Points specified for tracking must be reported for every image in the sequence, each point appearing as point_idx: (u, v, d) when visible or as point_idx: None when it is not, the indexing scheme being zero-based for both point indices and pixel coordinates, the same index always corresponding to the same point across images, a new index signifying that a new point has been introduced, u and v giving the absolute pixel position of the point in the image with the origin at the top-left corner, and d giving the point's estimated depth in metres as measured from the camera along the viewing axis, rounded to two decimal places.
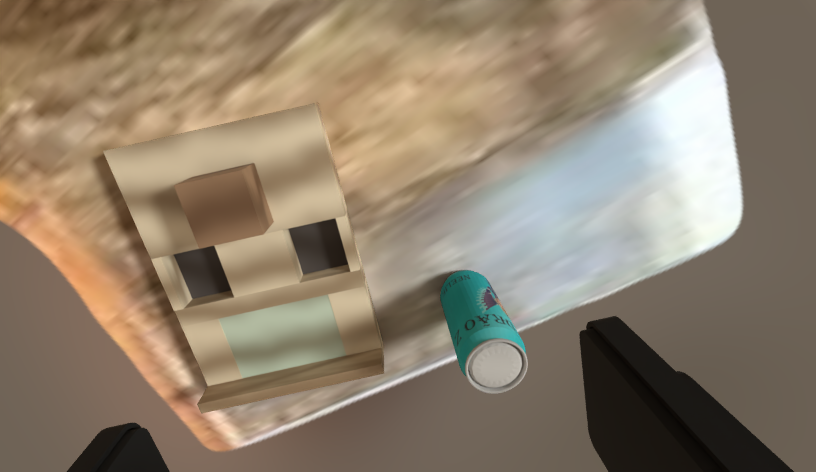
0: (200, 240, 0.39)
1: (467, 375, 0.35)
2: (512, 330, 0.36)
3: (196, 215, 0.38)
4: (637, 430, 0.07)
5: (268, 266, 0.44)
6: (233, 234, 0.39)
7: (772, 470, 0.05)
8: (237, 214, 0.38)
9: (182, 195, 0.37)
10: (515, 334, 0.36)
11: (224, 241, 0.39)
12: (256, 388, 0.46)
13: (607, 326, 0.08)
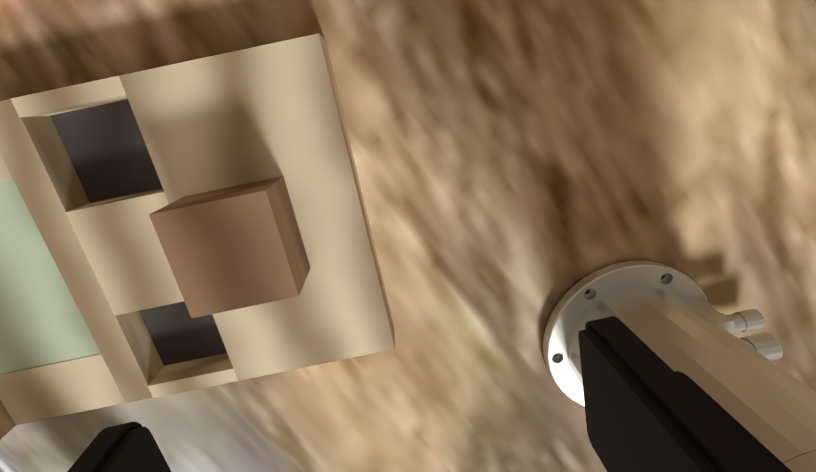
0: (167, 219, 0.22)
1: None
2: None
3: (213, 219, 0.22)
4: (635, 429, 0.07)
5: (136, 271, 0.27)
6: (185, 273, 0.23)
7: (769, 469, 0.05)
8: (222, 283, 0.23)
9: (248, 202, 0.22)
10: None
11: (169, 258, 0.22)
12: None
13: (605, 326, 0.08)
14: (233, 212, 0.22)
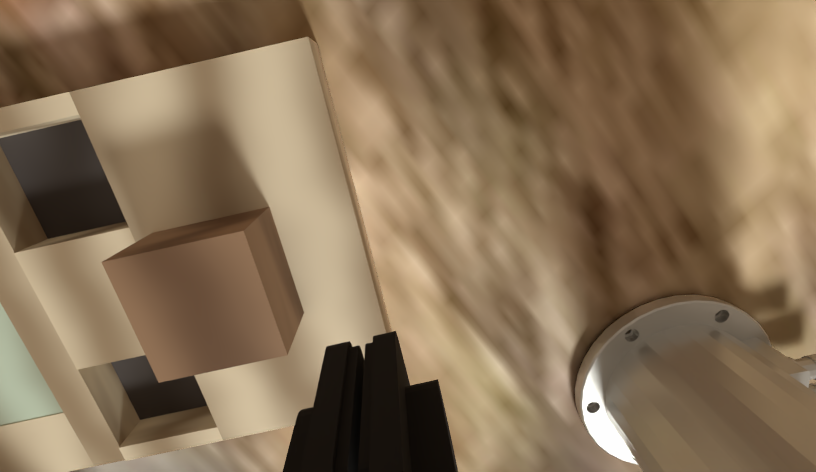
0: (123, 267, 0.18)
1: None
2: None
3: (180, 266, 0.18)
4: None
5: (100, 319, 0.23)
6: (149, 331, 0.19)
7: (396, 462, 0.06)
8: (194, 341, 0.19)
9: (222, 245, 0.17)
10: None
11: (129, 313, 0.18)
12: None
13: (380, 340, 0.09)
14: (204, 257, 0.18)
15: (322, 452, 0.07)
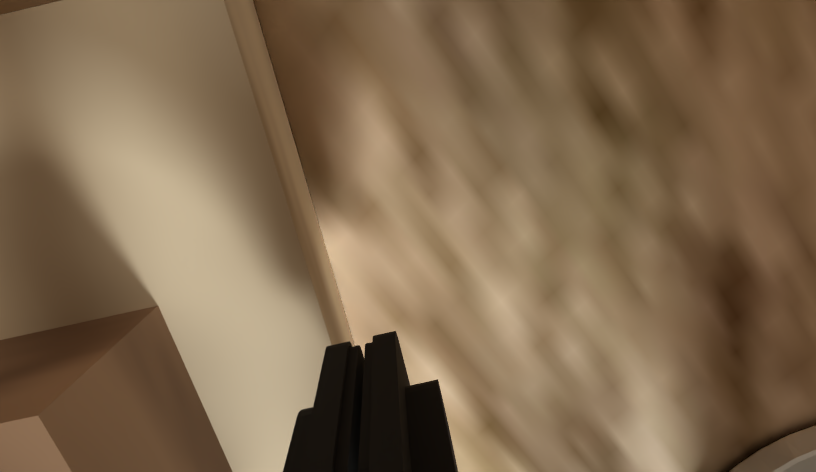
0: None
1: None
2: None
3: None
4: None
5: None
6: None
7: (396, 463, 0.06)
8: None
9: None
10: None
11: None
12: None
13: (380, 340, 0.09)
14: None
15: (322, 452, 0.07)
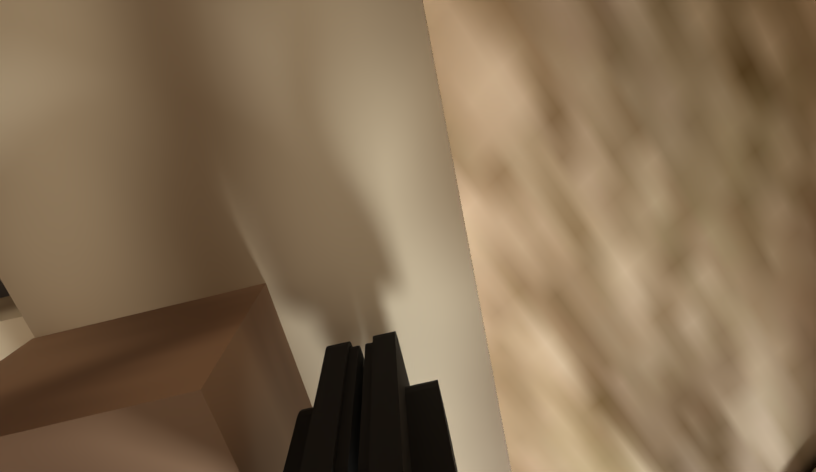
0: None
1: None
2: None
3: None
4: None
5: None
6: None
7: (396, 463, 0.06)
8: None
9: (150, 423, 0.07)
10: None
11: None
12: None
13: (380, 340, 0.09)
14: (106, 453, 0.07)
15: (322, 452, 0.07)
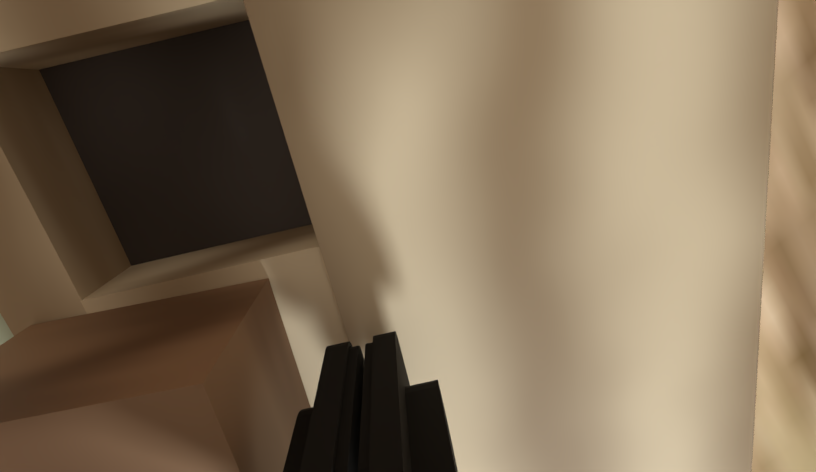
0: None
1: None
2: None
3: (44, 462, 0.07)
4: None
5: None
6: None
7: (396, 463, 0.06)
8: None
9: (149, 416, 0.07)
10: None
11: None
12: None
13: (380, 340, 0.09)
14: (104, 443, 0.07)
15: (322, 452, 0.07)
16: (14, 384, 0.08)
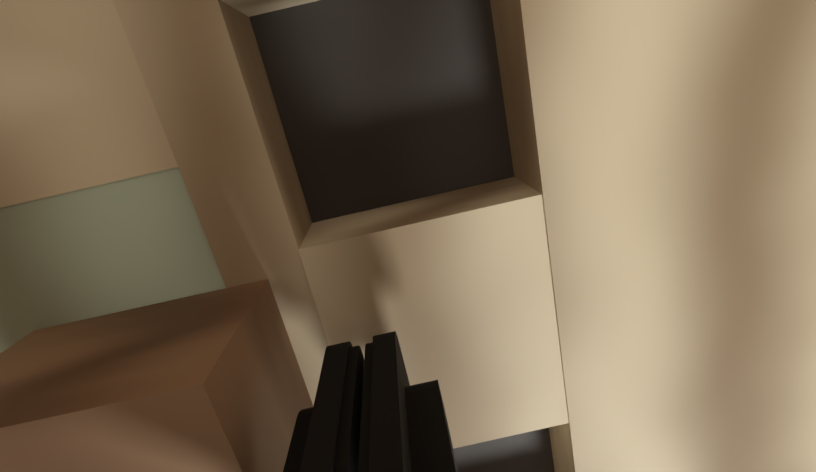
0: None
1: None
2: None
3: (48, 466, 0.07)
4: None
5: (435, 377, 0.12)
6: None
7: (396, 463, 0.06)
8: None
9: (151, 417, 0.07)
10: None
11: None
12: None
13: (380, 340, 0.09)
14: (107, 446, 0.07)
15: (322, 452, 0.07)
16: (17, 389, 0.08)
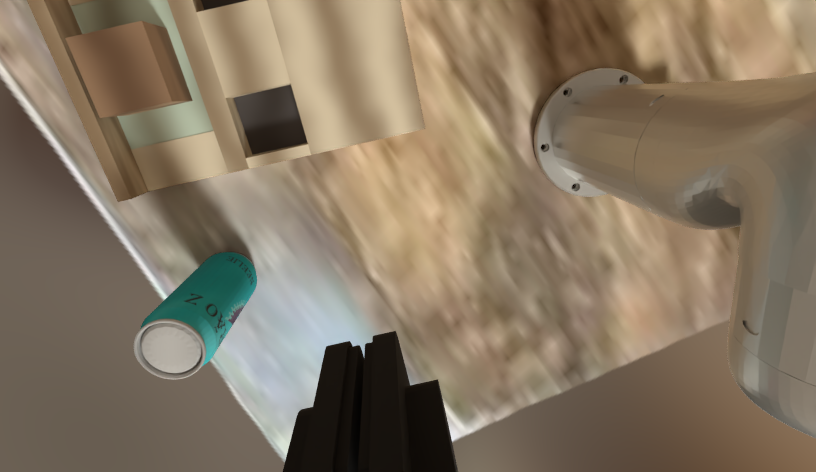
0: (77, 41, 0.33)
1: (154, 322, 0.31)
2: None
3: (108, 41, 0.33)
4: None
5: (242, 61, 0.37)
6: (93, 83, 0.34)
7: (396, 463, 0.06)
8: (118, 90, 0.34)
9: (130, 29, 0.33)
10: (209, 359, 0.34)
11: (81, 70, 0.33)
12: (61, 31, 0.34)
13: (380, 340, 0.09)
14: (121, 37, 0.33)
15: (322, 452, 0.07)
16: None
